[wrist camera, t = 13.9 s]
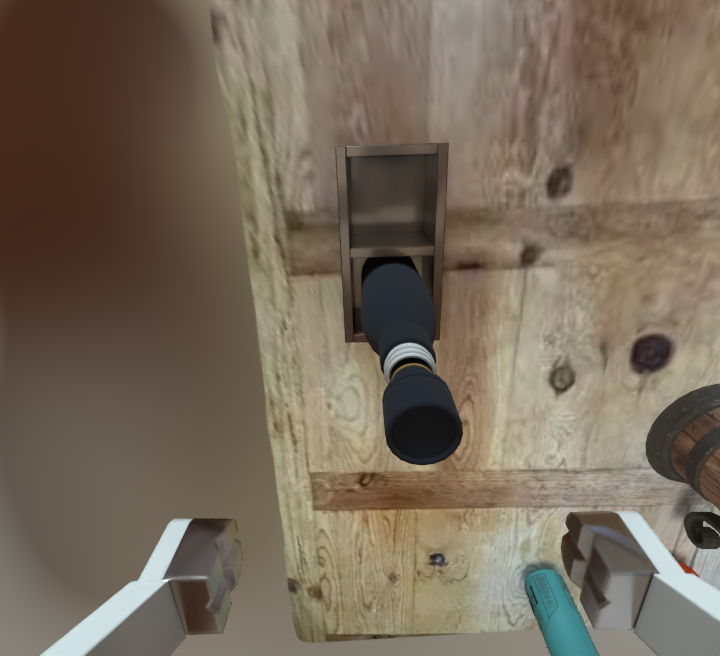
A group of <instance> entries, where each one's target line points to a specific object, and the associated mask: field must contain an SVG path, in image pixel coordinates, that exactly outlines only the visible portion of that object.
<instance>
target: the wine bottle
mask: <svg viewBox="0 0 720 656" xmlns="http://www.w3.org/2000/svg"><path fill="white" fill-rule="evenodd" d="M361 324H362V330H363V333H364V335H365V337H366V339H367V340H368V342H369V344H370V346H371V347H372V349H373V351H374V352H376V353H377V354H378V355H379V356H380V365H381V370H382V372H383V373H384V375H385V380H386V382H387V384H388V386H387V388H386V389H385V391H384V395H383V400H382V402H383V414H384V426H385V436H386V442H387V445H388V447H389V448H390V450H391V451H392V453H393V454H394V455H396V456H397V457H398V458H399V459H401V460H403V461H405V462H408V463H410V464H416V465H428V464H435V463H437V462H440V461H442V460H445V459H446V458H447V457H449V456H450V455H451V454H453V453H454V452H455V450H456V449H457V447H458V446H459V445H460V442H461V439H462V435H463V429H462V422H461V419H460V417H459V414H458V411H457V409H456V406H455V403H454V401H453V398H452V395H451V393H450V390H449V388H448V386H447V384H446V383H445V382H444V381H443V380H442V379H441V378H440V377H439V376H438V375H436V374H437V370H436V365H435V364H436V356H435V352H434V349H433V346H432V345H433V342H434V339H435V335H436V329H437V316H436V308H435V306H434V304H433V302H432V300H431V298H430V296H429V293H428V291H427V289H426V287H425V285H424V283H423V281H422V279H421V277H420V275H419V273H418V271H417V268H416V266H415V264H414V262H413V260H412V258H411V257H410V256H401V257H368V258H367V259H366V261H365V263H364V265H363V267H362V274H361Z"/></svg>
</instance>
